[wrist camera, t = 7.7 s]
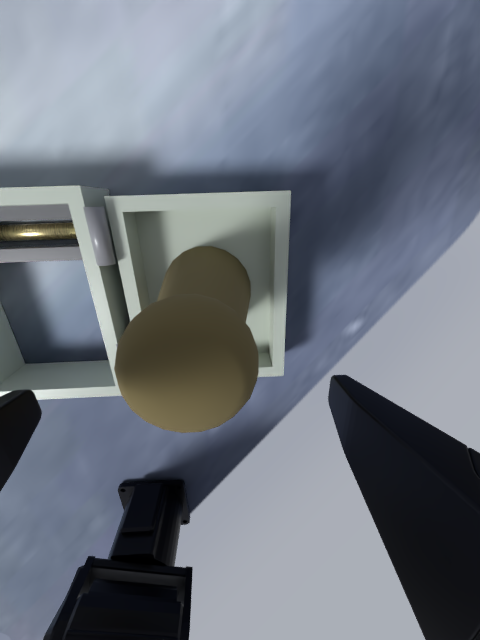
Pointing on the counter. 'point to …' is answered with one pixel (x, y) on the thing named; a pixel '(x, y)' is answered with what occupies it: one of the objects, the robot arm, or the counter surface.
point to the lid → (209, 230)
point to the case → (104, 280)
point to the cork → (191, 345)
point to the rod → (37, 231)
